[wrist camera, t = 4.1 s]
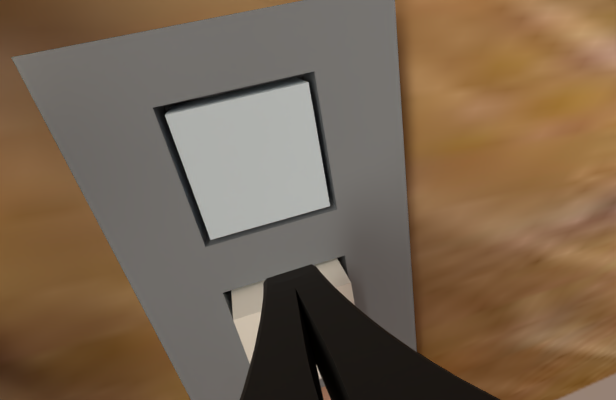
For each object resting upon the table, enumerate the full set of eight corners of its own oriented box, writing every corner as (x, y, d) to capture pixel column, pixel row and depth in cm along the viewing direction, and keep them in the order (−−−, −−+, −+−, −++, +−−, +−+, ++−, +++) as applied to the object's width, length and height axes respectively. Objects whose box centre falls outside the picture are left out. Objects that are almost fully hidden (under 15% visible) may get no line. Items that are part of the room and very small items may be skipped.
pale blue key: (210, 217, 16) (210, 239, 14) (171, 105, 13) (164, 115, 12) (317, 188, 16) (330, 206, 14) (296, 77, 14) (308, 82, 12)
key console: (241, 452, 24) (245, 503, 22) (53, 54, 13) (11, 57, 10) (400, 393, 26) (421, 433, 23) (360, -6, 14) (393, -18, 12)
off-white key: (258, 363, 18) (263, 399, 16) (231, 288, 16) (233, 320, 14) (349, 332, 19) (364, 363, 17) (335, 256, 16) (351, 282, 15)
